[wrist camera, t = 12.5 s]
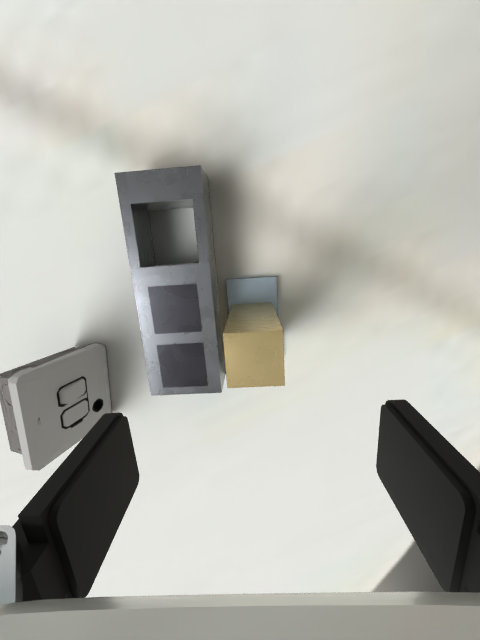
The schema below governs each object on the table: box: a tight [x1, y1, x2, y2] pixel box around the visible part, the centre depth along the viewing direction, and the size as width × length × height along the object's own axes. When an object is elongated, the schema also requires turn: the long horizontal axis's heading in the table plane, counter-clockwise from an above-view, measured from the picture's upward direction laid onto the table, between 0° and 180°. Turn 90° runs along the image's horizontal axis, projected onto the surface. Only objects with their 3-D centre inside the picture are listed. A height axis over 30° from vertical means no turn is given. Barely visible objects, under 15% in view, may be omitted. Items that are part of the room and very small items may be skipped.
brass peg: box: [223, 302, 285, 388], centre depth 23 cm, size 4×4×10 cm
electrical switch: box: [0, 343, 112, 470], centre depth 27 cm, size 9×5×9 cm, turn 178°
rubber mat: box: [226, 276, 278, 317], centre depth 28 cm, size 9×5×1 cm, turn 4°
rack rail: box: [115, 166, 225, 395], centre depth 26 cm, size 20×7×4 cm, turn 4°
